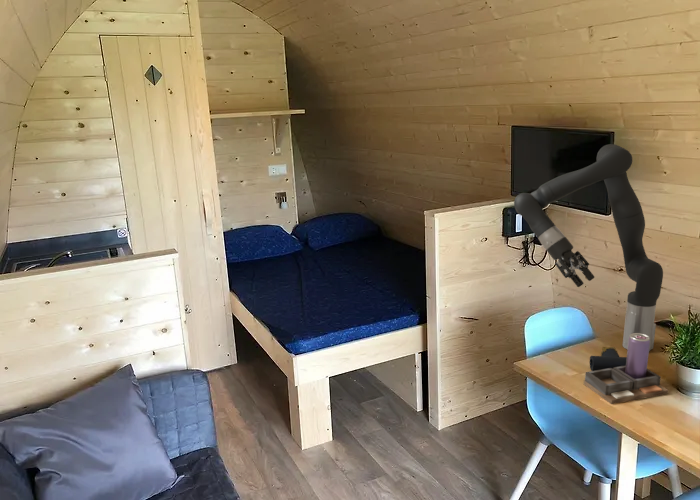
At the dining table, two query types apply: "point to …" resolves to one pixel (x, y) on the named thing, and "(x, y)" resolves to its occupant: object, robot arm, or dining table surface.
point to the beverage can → (637, 355)
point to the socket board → (623, 385)
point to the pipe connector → (607, 359)
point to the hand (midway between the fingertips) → (586, 282)
